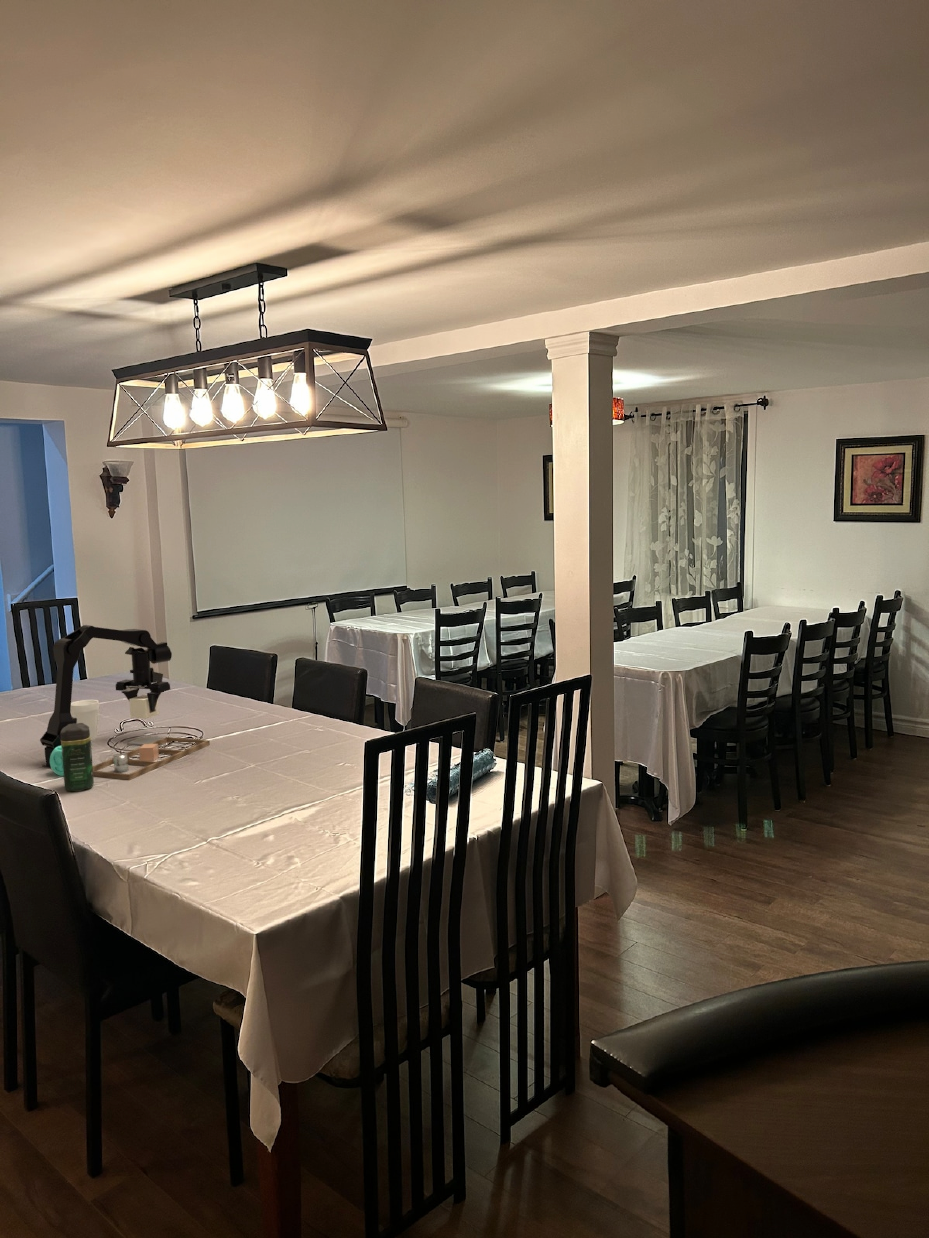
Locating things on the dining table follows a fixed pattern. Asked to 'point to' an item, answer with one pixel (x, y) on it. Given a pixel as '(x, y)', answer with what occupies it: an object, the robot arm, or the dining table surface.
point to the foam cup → (87, 714)
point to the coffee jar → (77, 757)
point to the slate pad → (144, 740)
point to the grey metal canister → (120, 763)
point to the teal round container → (57, 761)
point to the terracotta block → (149, 752)
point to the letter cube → (142, 707)
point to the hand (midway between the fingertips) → (144, 710)
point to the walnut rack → (149, 764)
